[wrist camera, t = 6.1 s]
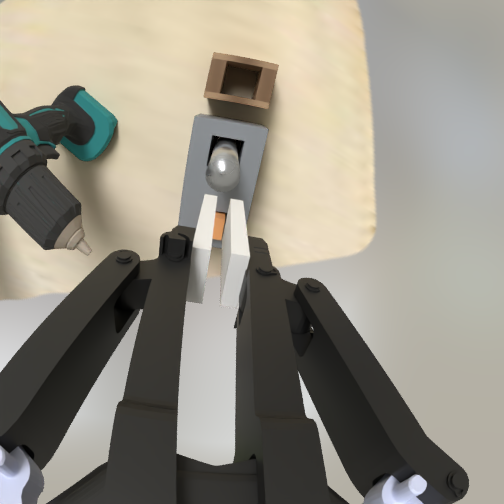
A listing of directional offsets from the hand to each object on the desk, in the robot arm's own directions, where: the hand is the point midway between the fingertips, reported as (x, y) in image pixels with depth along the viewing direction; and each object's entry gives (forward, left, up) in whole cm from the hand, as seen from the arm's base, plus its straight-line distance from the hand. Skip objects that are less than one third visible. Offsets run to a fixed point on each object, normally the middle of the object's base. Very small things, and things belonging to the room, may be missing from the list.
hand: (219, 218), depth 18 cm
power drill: (-22, 0, -27) cm, 34 cm away
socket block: (0, -4, -27) cm, 27 cm away
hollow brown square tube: (0, +10, -27) cm, 28 cm away
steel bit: (0, 0, -27) cm, 27 cm away
